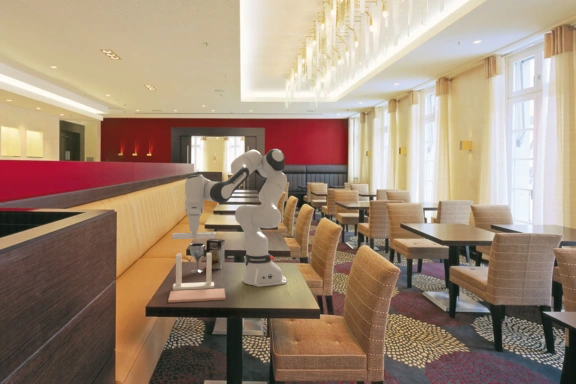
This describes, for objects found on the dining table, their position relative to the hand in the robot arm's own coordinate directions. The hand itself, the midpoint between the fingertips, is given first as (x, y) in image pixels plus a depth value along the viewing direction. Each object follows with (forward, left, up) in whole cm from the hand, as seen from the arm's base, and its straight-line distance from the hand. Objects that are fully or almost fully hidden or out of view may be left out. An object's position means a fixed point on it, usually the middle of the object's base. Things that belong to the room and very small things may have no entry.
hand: (194, 237), depth 173 cm
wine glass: (-1, -27, -24) cm, 36 cm away
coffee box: (-11, -34, -24) cm, 43 cm away
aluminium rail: (0, 0, 0) cm, 0 cm away
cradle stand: (0, 0, -24) cm, 24 cm away
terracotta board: (-2, +13, -24) cm, 27 cm away
